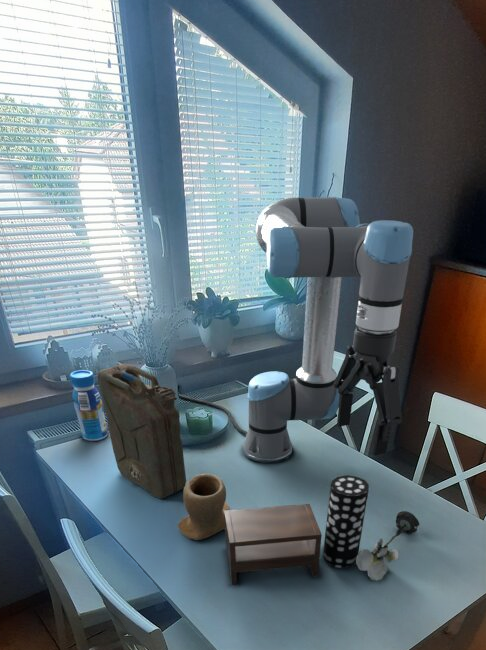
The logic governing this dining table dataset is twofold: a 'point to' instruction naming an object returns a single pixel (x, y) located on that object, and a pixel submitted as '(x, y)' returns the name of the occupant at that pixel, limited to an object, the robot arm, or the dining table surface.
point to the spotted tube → (345, 520)
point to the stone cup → (204, 507)
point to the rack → (272, 539)
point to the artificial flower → (385, 548)
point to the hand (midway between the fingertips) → (360, 438)
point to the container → (143, 429)
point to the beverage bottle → (88, 406)
